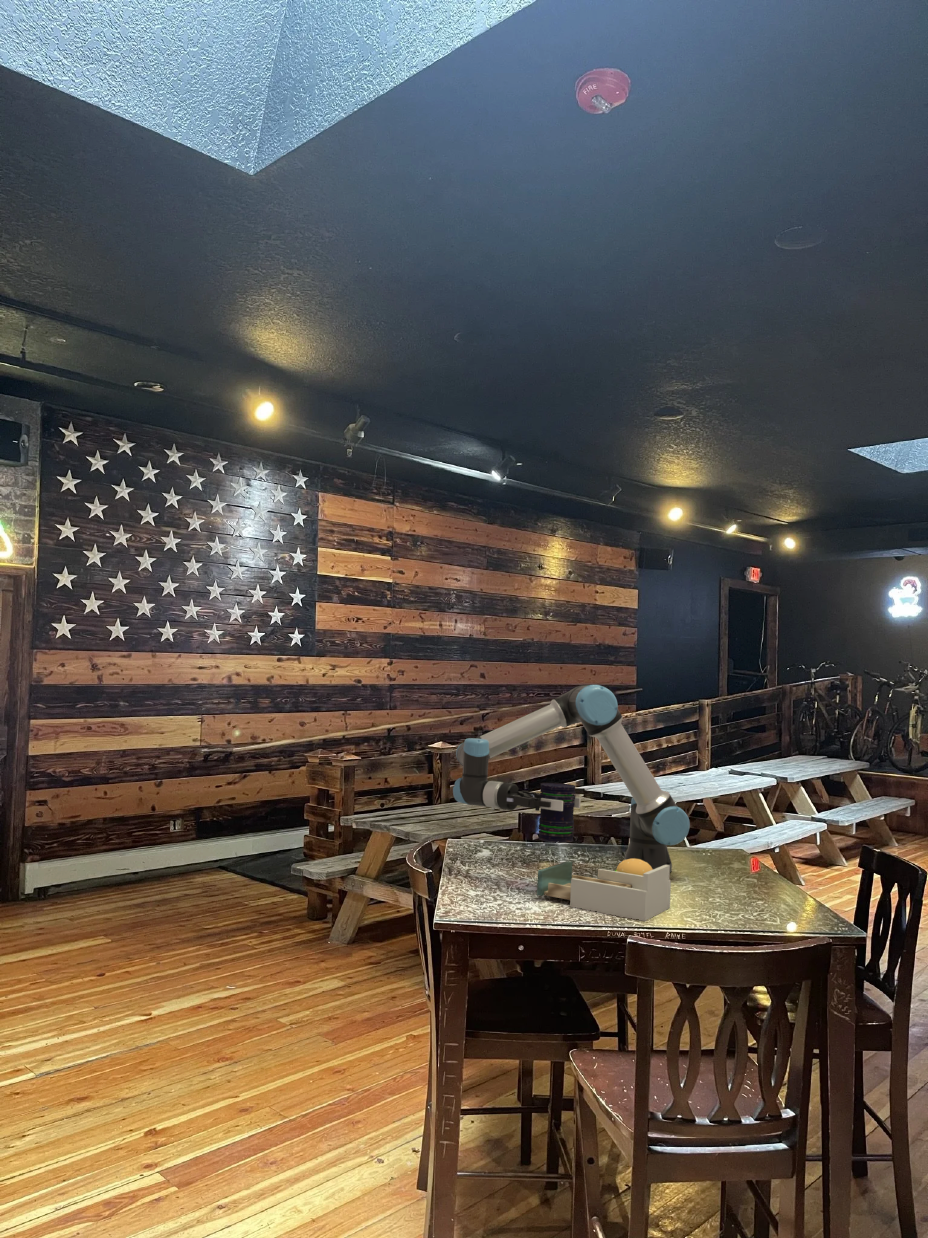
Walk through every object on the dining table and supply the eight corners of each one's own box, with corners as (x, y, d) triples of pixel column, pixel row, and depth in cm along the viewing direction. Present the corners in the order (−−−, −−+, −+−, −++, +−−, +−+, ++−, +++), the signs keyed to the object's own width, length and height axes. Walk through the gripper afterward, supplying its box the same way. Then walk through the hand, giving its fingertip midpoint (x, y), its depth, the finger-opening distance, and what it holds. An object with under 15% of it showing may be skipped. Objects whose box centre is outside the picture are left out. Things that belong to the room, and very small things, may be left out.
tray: (536, 895, 227) (538, 870, 228) (567, 884, 242) (568, 861, 243) (607, 908, 217) (608, 882, 217) (634, 896, 232) (635, 872, 232)
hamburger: (620, 895, 238) (622, 863, 239) (606, 885, 250) (608, 855, 251) (662, 896, 240) (663, 864, 241) (646, 886, 252) (647, 855, 253)
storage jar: (577, 843, 237) (580, 787, 238) (542, 842, 235) (544, 786, 237) (568, 836, 247) (570, 783, 248) (534, 835, 245) (536, 782, 246)
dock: (570, 906, 222) (571, 862, 223) (598, 895, 237) (600, 853, 238) (644, 921, 211) (646, 875, 212) (670, 908, 226) (671, 864, 227)
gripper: (521, 805, 261) (588, 814, 248) (480, 812, 242) (551, 822, 230) (522, 780, 261) (589, 788, 249) (481, 784, 243) (552, 793, 230)
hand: (571, 804), depth 239 cm, fingers closed on storage jar, 10 cm apart
